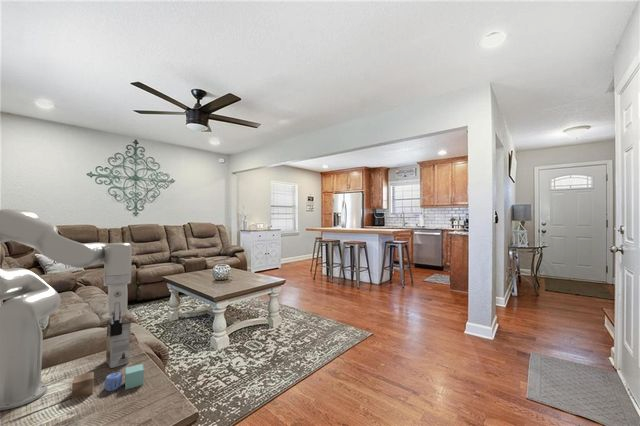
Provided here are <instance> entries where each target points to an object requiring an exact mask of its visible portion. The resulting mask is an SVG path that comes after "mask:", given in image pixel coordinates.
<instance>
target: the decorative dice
mask: <svg viewBox="0 0 640 426" xmlns="http://www.w3.org/2000/svg"><path fill="white" fill-rule="evenodd" d="M122 382H123V374H122V373H121V372H112V373H110V374H108V375H106V377H105V379H104V385H103V386H104V390H105V391H107V392H112V391H116V390H118V389H119V388H120V387H121V386H122Z"/></svg>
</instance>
